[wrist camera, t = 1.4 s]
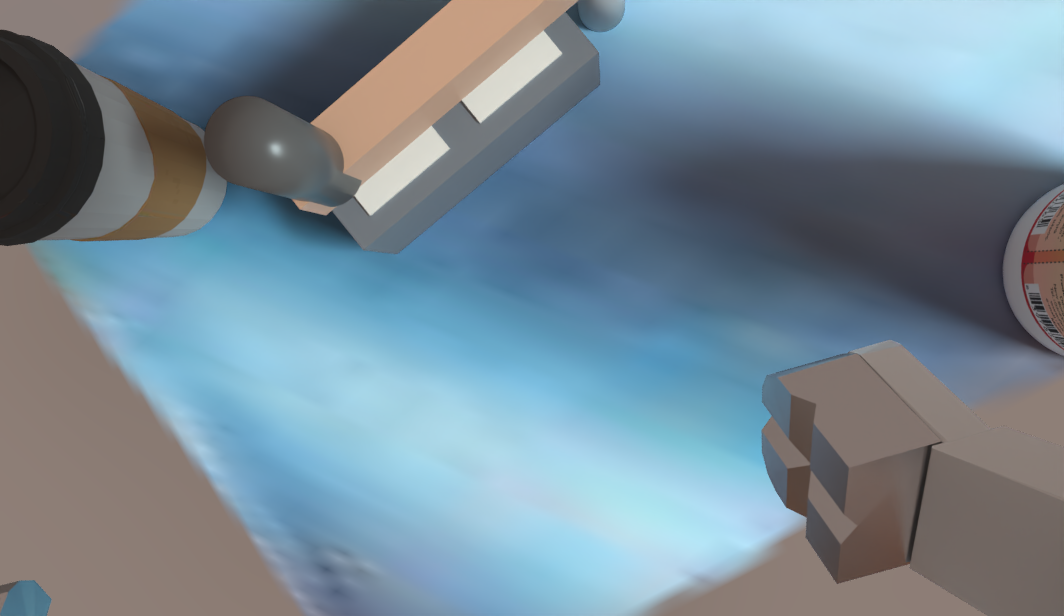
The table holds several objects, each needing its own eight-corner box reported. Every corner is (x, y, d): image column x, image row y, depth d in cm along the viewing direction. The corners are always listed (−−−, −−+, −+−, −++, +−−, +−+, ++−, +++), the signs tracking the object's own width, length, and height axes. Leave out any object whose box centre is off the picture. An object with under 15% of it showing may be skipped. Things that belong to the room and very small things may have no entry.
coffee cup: (79, 152, 45) (-184, 90, 30) (202, 74, 44) (-5, -30, 29) (152, 282, 45) (-76, 284, 30) (277, 207, 44) (107, 170, 29)
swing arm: (603, -104, 34) (601, -232, 26) (648, -50, 34) (661, -159, 25) (286, 169, 36) (186, 135, 27) (328, 222, 36) (241, 204, 27)
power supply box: (579, -56, 42) (573, -129, 34) (655, 37, 42) (666, -16, 34) (324, 163, 44) (265, 139, 36) (397, 253, 43) (352, 248, 36)
